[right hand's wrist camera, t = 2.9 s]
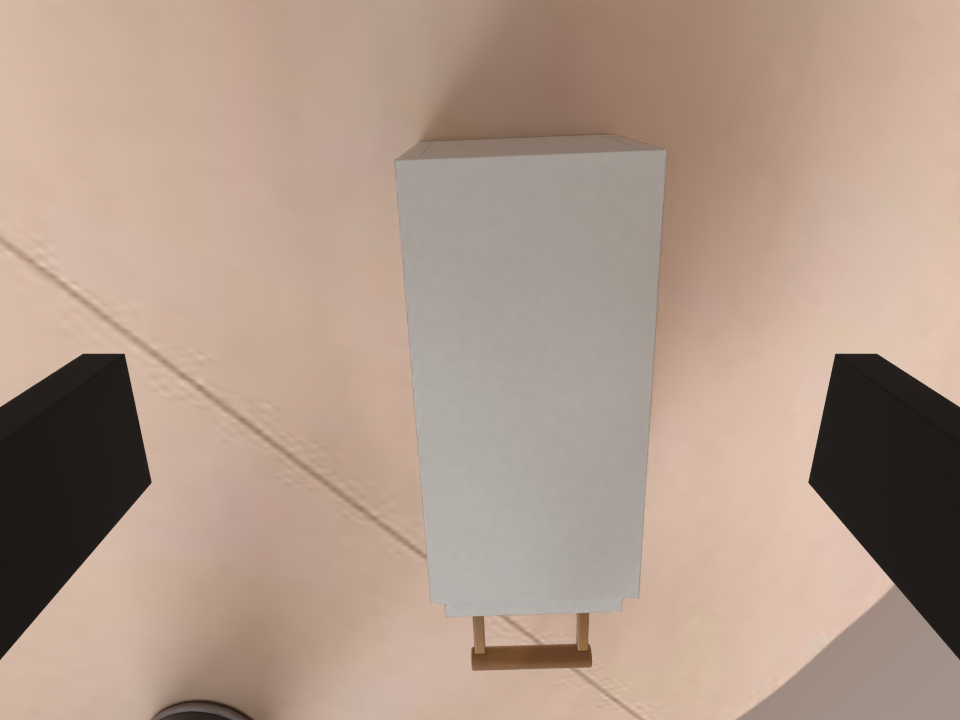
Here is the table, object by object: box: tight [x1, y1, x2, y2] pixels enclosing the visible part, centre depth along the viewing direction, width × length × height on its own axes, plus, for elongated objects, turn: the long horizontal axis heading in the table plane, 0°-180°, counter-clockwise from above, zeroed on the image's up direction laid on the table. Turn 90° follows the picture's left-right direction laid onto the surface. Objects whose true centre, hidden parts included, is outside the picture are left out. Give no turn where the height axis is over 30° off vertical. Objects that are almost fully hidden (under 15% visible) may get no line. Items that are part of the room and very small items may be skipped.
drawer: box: [445, 598, 622, 671], centre depth 36 cm, size 26×9×9 cm, turn 2°
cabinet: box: [394, 134, 667, 604], centre depth 34 cm, size 21×10×11 cm, turn 2°
